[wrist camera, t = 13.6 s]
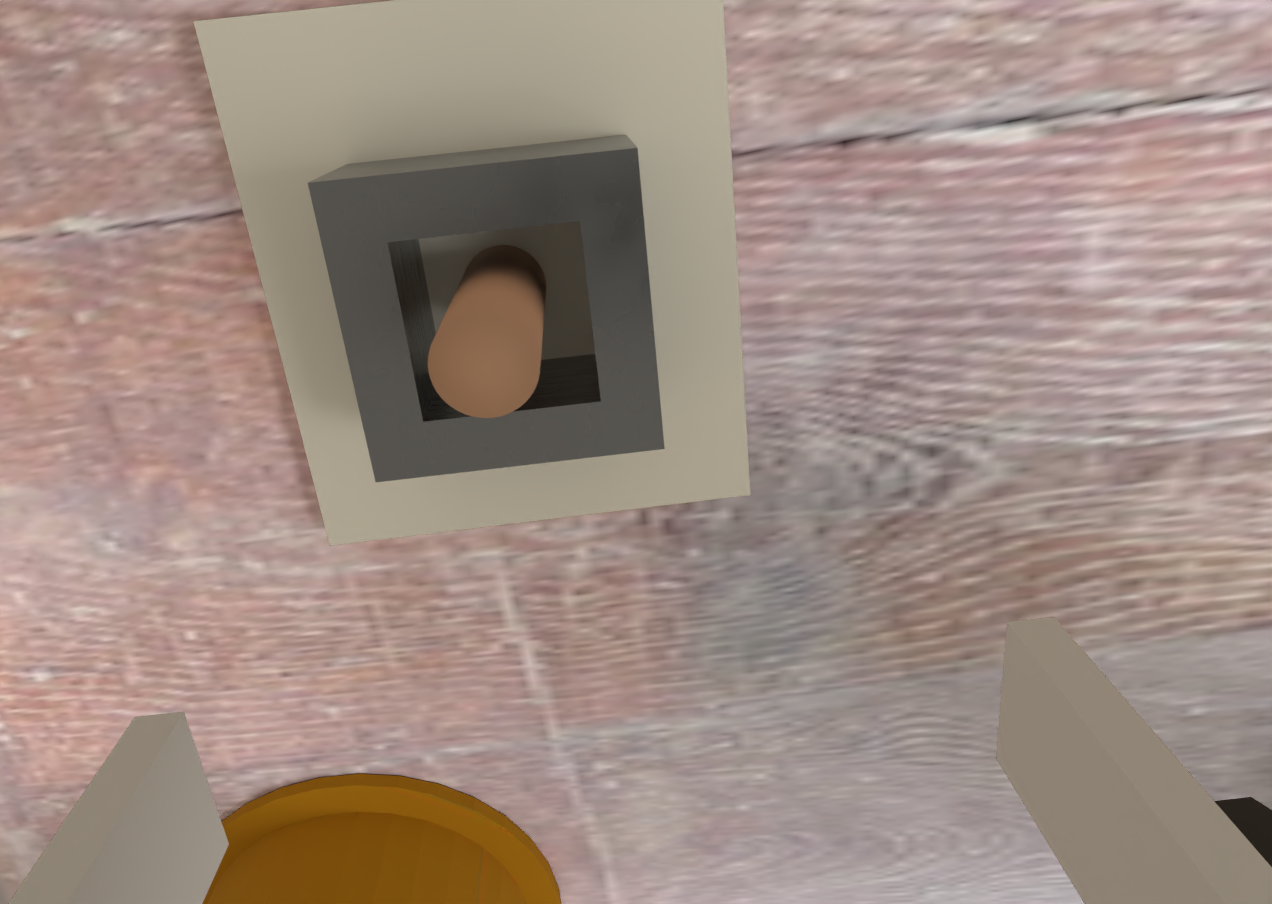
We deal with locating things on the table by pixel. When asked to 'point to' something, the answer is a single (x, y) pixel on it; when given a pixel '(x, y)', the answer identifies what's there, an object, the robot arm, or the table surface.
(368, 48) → the keeper board
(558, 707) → the table surface
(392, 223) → the steel link
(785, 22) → the table surface
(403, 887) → the spool
